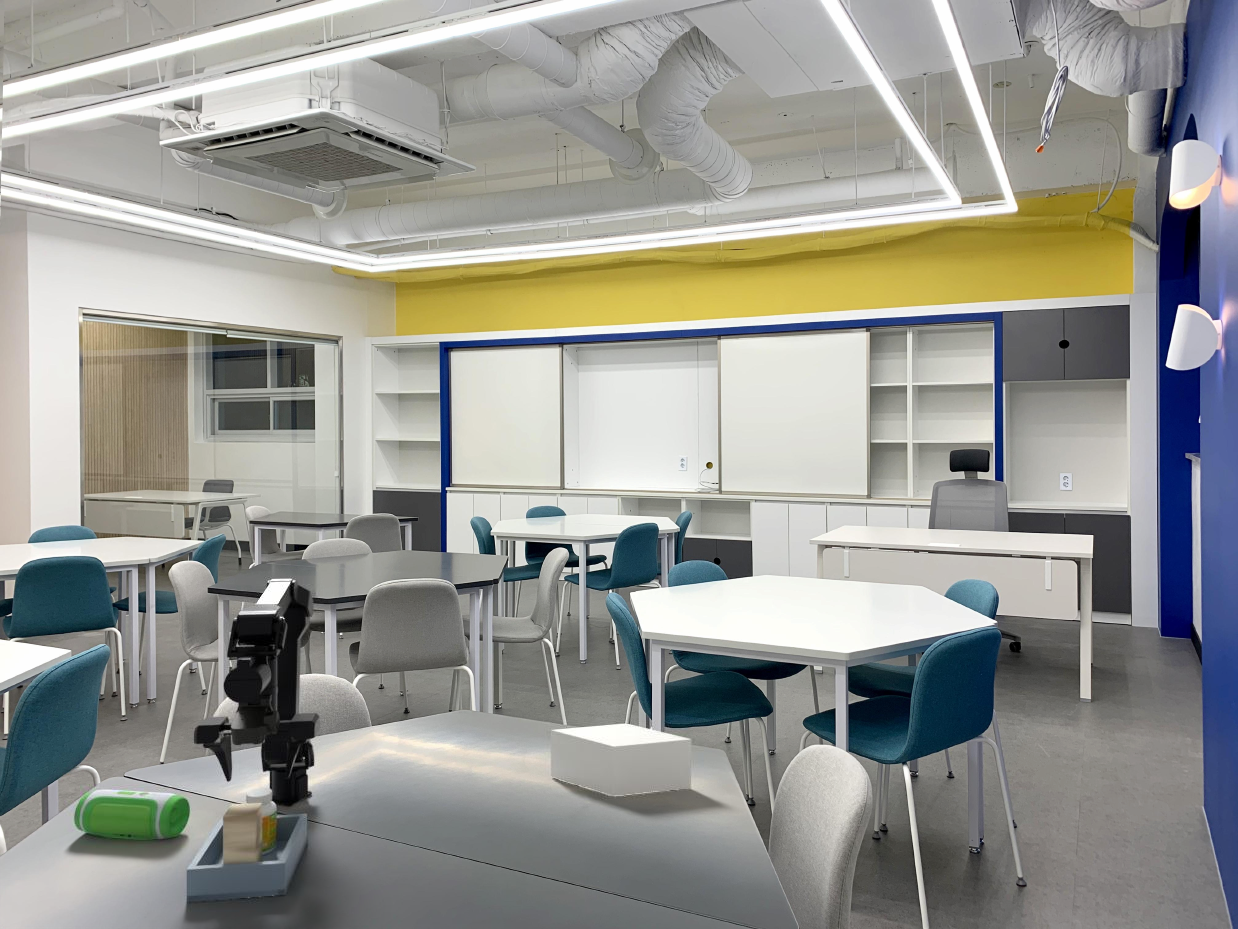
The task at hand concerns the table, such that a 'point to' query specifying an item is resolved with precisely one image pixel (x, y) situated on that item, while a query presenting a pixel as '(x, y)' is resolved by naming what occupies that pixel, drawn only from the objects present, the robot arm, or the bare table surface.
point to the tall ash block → (242, 833)
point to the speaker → (132, 814)
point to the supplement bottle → (265, 816)
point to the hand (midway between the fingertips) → (258, 779)
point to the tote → (247, 865)
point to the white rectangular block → (621, 759)
